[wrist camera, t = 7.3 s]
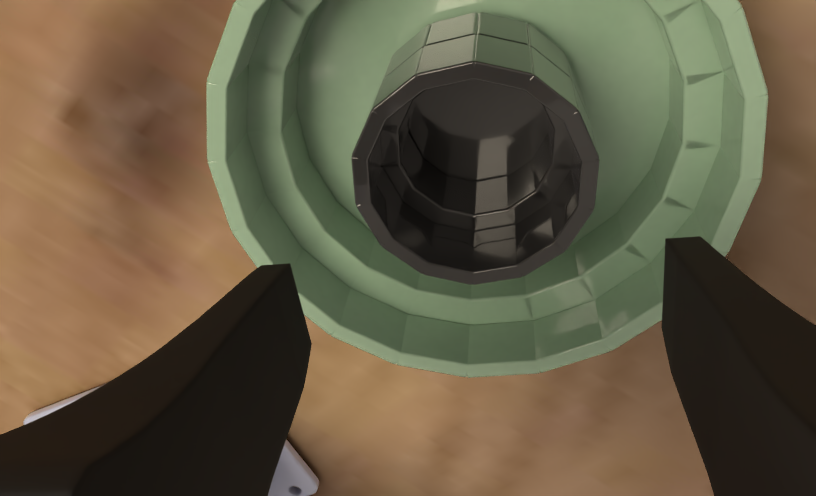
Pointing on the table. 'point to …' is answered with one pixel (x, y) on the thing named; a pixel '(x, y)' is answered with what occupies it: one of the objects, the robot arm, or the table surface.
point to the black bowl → (476, 152)
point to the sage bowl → (552, 282)
